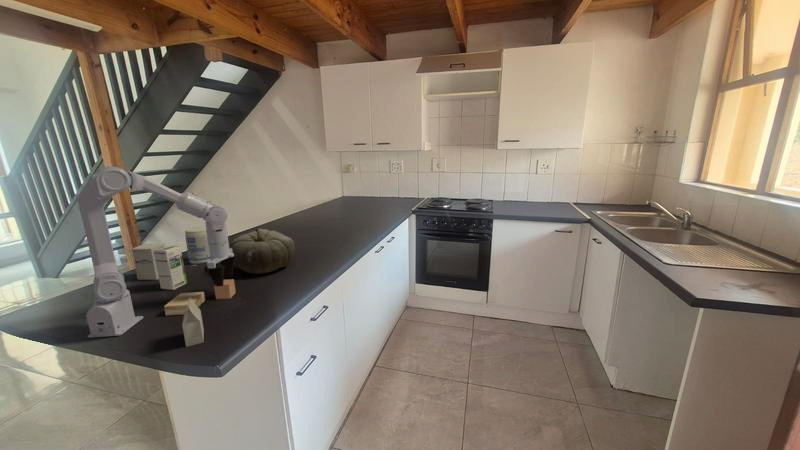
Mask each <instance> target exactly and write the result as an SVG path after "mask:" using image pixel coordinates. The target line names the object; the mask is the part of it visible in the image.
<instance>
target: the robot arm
mask: <svg viewBox="0 0 800 450" xmlns="http://www.w3.org/2000/svg"><path fill="white" fill-rule="evenodd" d="M128 189H130V190H131V191H132V192H133V191H134V192H135V191H146V192H148V193H150V194H153V195H156V196H157V197H159V198H163V199H165V200H168V201H170V202H173V203H175V206H176V209H177V210H180V211H182V212H185V213H186V214H189V215H191V216H194V217H196V218H198V219H203V220H204V221H205V227H206V232H207V239H208V245H209V252H210V257H209V261H208V262H206V265H205V266H204V271H205V272H207V274H208V275H209V277H210V279H211V280H212V283H213V284H214V285H215V286H223V283H224V280H225V279H224V278H231V277H233V273H234V262H235V259H236V255H234V253H233V251H232V248H229V246H230V243H229V242H230V241H229V237H228V236H229V235H228V228H227V224H226V221H227V218H228V214H227V211H226V210H225V209H224V208H223V207H221V206H219V205H218V204H216V203H214V202H213V201H212V200H206V199H204V198H202V197H199V195H198V193H196V192H193V191H192V192H189V191H186V192H182V193H180V192H178V191H176V190H173V189H171V188H170V187H167V186H165V185H163V184H162V183H159V182H158V181H155V180H153V179H152V178H149V177H147V176H144V175H143V174H139V173H136V172H132V171H129V170H124V169H123V168H121V167H118V166H112V165H111V166H109V165H108V166H105V167H103V168H101V169H100V170H97V171H96V172H95V173H93V174H92V176H91V177H90V179H89V180H88V181H87V183H86V184H85V186H84V187H83V188H82V190H81V191H80V193H79V195H78V196H77V205H78V208H79V212H80V216H81V217H80V218H81V221H82V226H83V229H84V234H85V237H86V242H87V245H88V249H89V254H90V257H91V261H92V266H93V272H94V278H93V295H94V298H93V300H94V302H93V305H92V306H91V307H90V308H89V309H88V310H87V312H86V315H85V317H86V322H87V325H88V329H89V332H90V333H89V334H88V335H87V338H88V339H89V338H91V339H92V338H103V337H117V336H118V337H119V336H122V335H124V334H125V333H126V332H127V331H128V330H130V329H131V328H132V327H133V326H134V325H136V324H137V323H139V322H140V321H141V320H143V319H144V316H142V315H141V316H140V315H139V316H138V315H137V316H135V311H134V306H133V301H132V297H131V292H130V290H128V289H127V284H126V282H125V275H124V274H123V272H122V271H120V270H119V268H118V265H117V261H116V257H115V252H114V247H113V243H112V239H111V234H110V231H109V226H108V221H107V217H106V211H105V207H104V204H106V203H107V202H108V201H109V200H110V199H112V198H113V197H114V196H115V195H117V194H120V193H122V192H125V191H127V190H128Z"/></svg>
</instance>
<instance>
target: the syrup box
mask: <svg viewBox="0 0 800 450" xmlns="http://www.w3.org/2000/svg"><path fill="white" fill-rule="evenodd" d="M153 254H154V258H155V263H156V268H157V272H158V277H159V279H158V280H159V285H160V289H162V290H172V291H173V290H176V289H178V288H180V287H183V286H184V285H187V284H188V281H187V274H186V269H185V265H184V258H183V255H182V248H181V246H177V245H167V246H165V247H164V248H160V249H157V250H154V251H153Z"/></svg>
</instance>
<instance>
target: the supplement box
mask: <svg viewBox="0 0 800 450" xmlns="http://www.w3.org/2000/svg"><path fill="white" fill-rule="evenodd" d="M164 247H166V246H165V243H142V244H140V245H139V246H135V247H132V248H131V253H132V257H133V263H134V266H135V268H134V269H135V272H136V278H137V280H138V281H140V280H142V281H143V280H146V281H147V280H148V281H149V280H150V281H151V280H155V281H157V280H159V277H158V272H157V268H156V263H155V258H154V254H153V251H154V250H157V249H160V248H164Z"/></svg>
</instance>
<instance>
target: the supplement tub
mask: <svg viewBox="0 0 800 450" xmlns="http://www.w3.org/2000/svg"><path fill="white" fill-rule="evenodd" d="M184 233H185V234H184V235H185V236H184V237H185V243H186V250H187V256H188V262H189V263H190V264H193V265H197V264H204V263H206V264H207V262H208V261H209V257H210V252H209V245H208V239H207V232H206V226H195V227H189V228H187V229H185V230H184Z"/></svg>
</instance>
